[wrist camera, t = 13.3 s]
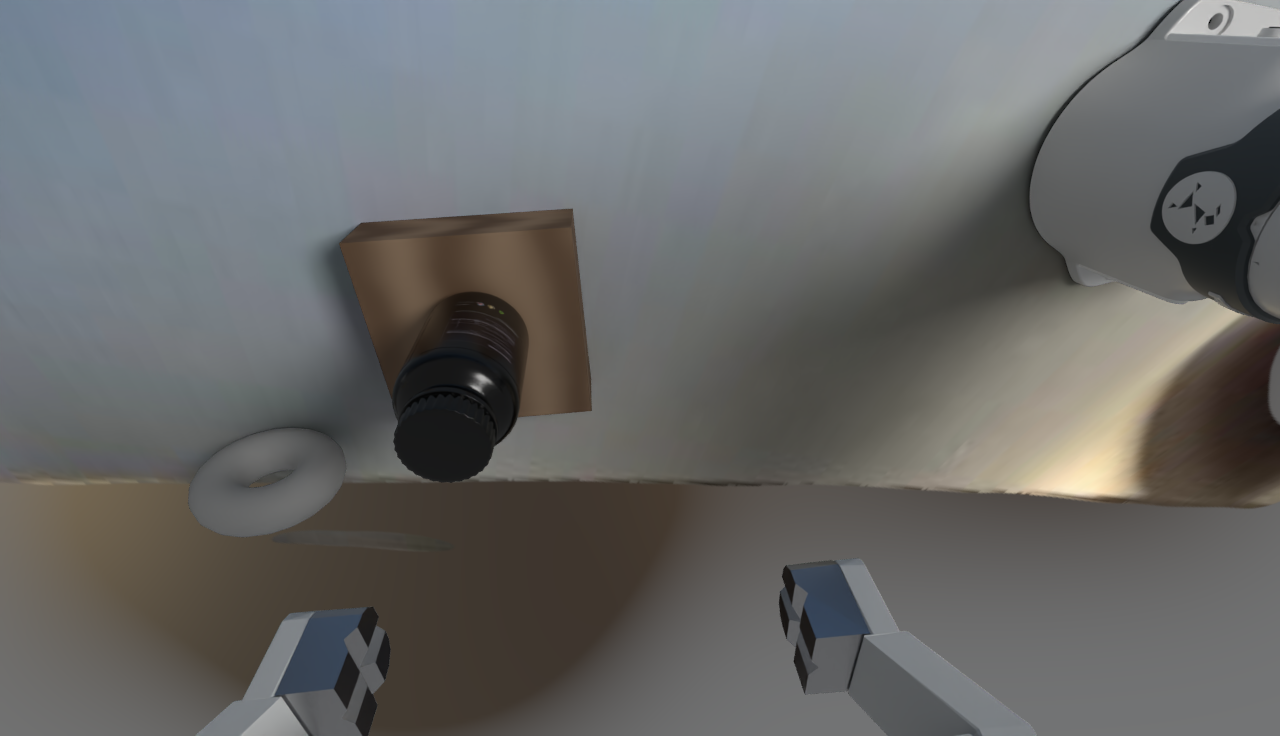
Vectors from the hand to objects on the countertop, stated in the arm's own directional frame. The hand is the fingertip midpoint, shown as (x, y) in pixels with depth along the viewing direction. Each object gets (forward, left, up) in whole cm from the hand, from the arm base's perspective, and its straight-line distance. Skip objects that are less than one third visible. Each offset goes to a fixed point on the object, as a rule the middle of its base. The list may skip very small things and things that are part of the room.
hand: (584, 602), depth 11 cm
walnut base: (+8, +8, -31) cm, 33 cm away
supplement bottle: (+8, +8, -27) cm, 29 cm away
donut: (+25, +18, -31) cm, 44 cm away
